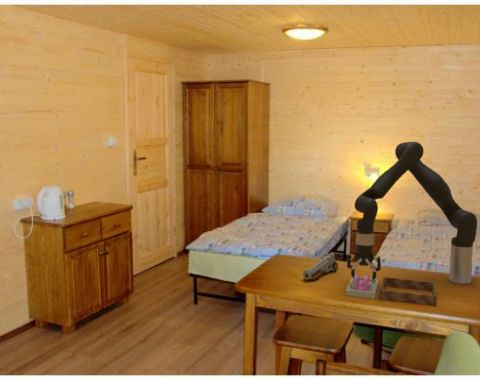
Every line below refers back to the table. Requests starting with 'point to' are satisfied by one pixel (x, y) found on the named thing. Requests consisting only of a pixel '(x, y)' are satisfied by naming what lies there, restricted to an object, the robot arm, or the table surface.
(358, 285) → the bracket
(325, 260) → the toy
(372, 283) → the tray
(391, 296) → the crate
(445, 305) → the table surface
